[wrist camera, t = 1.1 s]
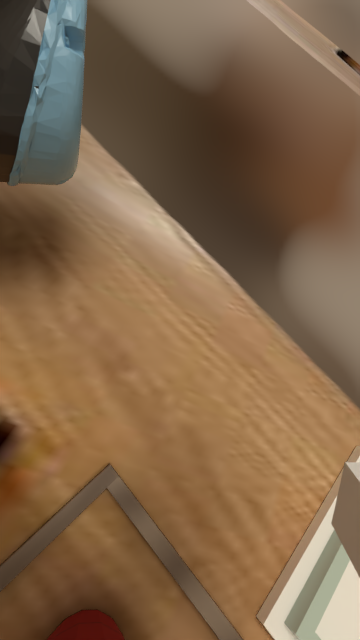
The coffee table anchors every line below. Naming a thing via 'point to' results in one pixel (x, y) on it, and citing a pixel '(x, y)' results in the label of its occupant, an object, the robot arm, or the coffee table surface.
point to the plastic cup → (87, 627)
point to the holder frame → (145, 525)
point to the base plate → (316, 584)
